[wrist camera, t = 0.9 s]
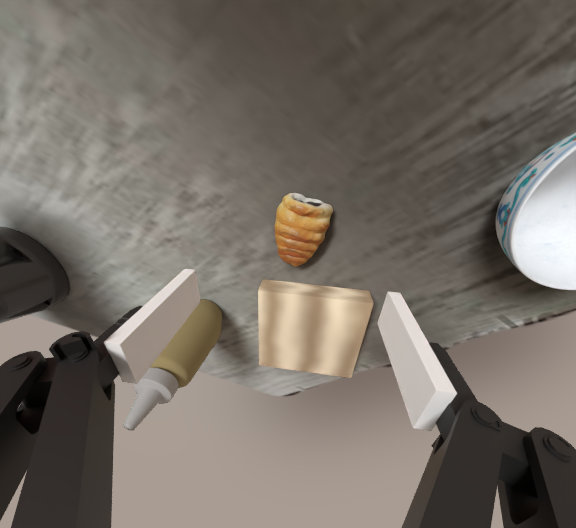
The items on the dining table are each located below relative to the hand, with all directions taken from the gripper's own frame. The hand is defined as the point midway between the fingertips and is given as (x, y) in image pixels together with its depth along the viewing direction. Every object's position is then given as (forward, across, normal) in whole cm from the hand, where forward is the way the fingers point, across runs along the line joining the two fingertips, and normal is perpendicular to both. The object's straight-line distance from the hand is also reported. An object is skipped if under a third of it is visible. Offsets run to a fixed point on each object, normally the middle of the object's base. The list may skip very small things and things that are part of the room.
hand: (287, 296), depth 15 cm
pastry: (+16, 0, 0) cm, 16 cm away
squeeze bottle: (+16, -15, -17) cm, 28 cm away
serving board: (+16, +3, -17) cm, 23 cm away
